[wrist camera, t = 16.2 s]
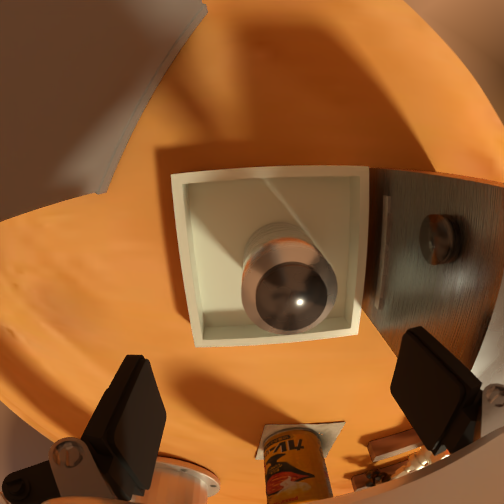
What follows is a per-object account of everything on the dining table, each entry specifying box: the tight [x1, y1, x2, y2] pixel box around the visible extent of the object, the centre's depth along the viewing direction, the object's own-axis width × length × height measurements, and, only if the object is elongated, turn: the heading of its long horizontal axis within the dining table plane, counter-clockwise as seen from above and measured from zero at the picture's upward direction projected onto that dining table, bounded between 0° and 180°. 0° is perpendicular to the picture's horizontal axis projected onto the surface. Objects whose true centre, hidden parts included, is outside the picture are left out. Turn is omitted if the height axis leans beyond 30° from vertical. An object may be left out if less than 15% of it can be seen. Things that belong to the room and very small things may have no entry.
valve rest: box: [351, 428, 428, 492], centre depth 27 cm, size 14×12×2 cm
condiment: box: [256, 422, 346, 504], centre depth 19 cm, size 7×8×12 cm
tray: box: [171, 165, 369, 347], centre depth 17 cm, size 11×11×2 cm
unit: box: [361, 168, 504, 391], centre depth 13 cm, size 7×10×12 cm
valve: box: [365, 445, 449, 487], centre depth 24 cm, size 7×7×12 cm
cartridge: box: [241, 222, 338, 335], centre depth 15 cm, size 4×4×6 cm
